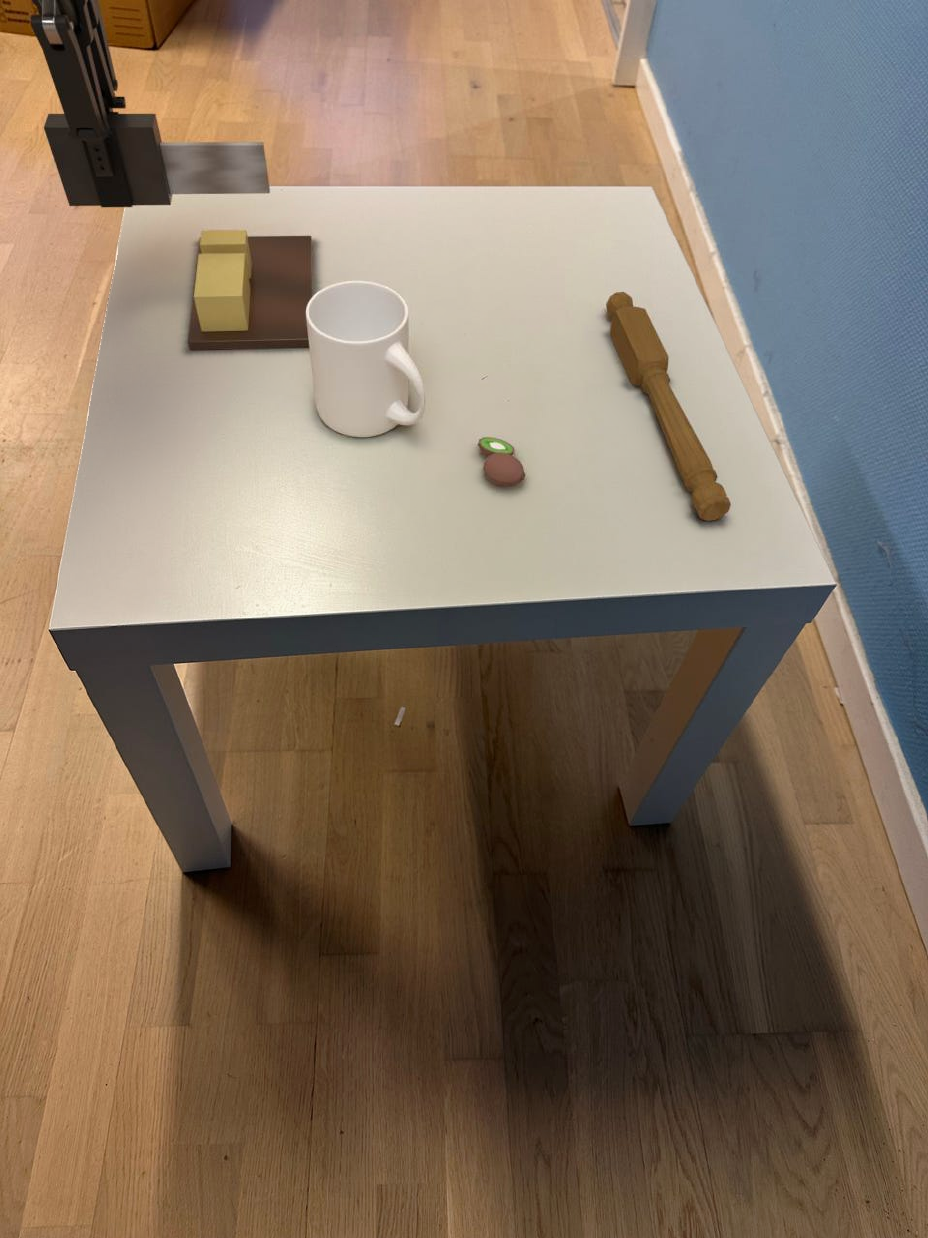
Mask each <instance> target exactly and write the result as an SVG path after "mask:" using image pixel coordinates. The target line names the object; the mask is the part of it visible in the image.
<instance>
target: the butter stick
mask: <svg viewBox="0 0 928 1238" xmlns="http://www.w3.org/2000/svg"><path fill="white" fill-rule="evenodd" d="M197 257H198V265H197V264H196V266H197V273H196V272H195V275H196V282H195V281H194V283H195V291H194V290H193V292H194V300H195V304H196V309H197V313H198V317H199V322H200V326H201V331H202V332H209V331H248V324H249V306H250V282H249V276H248V270H247V264H246V257H245V253H223V254H199V256H198V255H197Z"/></svg>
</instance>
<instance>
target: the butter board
mask: <svg viewBox="0 0 928 1238" xmlns="http://www.w3.org/2000/svg"><path fill="white" fill-rule="evenodd" d="M247 238H248V244H249V251H250V257H251V263H252V269H251V279H249V282H250V306H249V324H248V331H209V332H202V331H201V326H200V322H199V317H198V313H197V309H196V304H195V300H194V291H195V282H196V273H197V265H198V256H199V254H202V253H201V248H200V239H201V236H200V237H199V242H198V249H197V259H196V267H195V275H194V284H193V291H192V292H193V293H192V302H191V310H190V320H189V326H188V337H187V345H188V350H189V351H211V350H212V351H213V350H251V349H255V350H256V349H257V350H258V349H288V348H289V349H292V348H294V349H295V348H296V349H297V348H309V339H308V330H307V321H306V308H307V305H308V303H309V301H310V299H311V298H312V297H313V296H314V294H313V292H314V288H313V287H314V285H313V282H314V281H313V280H314V279H313V239H312V235H256V236H254V235H251V236H248V235H247Z"/></svg>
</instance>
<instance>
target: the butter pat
mask: <svg viewBox="0 0 928 1238" xmlns="http://www.w3.org/2000/svg"><path fill="white" fill-rule="evenodd" d="M247 236H248V232H247V230H246V229H221V230H220V229H218V230H217V229H216V230H215V229H214V230H210V229H209V230H208V229H207V230H206V229H205V230H201V231H200V237H201V239H200V238H199V240H200V248H201V253H202V254H223V253H245V257H246V264H247V270H248V276H249V279H251V269H252V263H251V257H250V251H249V244H248V238H247Z"/></svg>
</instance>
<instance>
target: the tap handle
mask: <svg viewBox="0 0 928 1238" xmlns="http://www.w3.org/2000/svg"><path fill="white" fill-rule="evenodd" d="M605 309H606V314H607V315H608V316H609V317H610V318H611V322H610V330H609V331H610V334H609V335H610V339H611V341H612V343H613V346H614V348H615V350H616V353H617V355H618V358H619V359H620V361H621V364H622V366H623V369H624V370H625V373H626V375H627V378H628V380H629V382H630V385H633V386H635V387H639V388H641V389H642V391H643V393H644V394H646V395H648V397H649V399H650V402H651V405H652V407H653V409H654V412H655V414H656V416H657V419H658V422H659V425H660V427H661V429H662V432H663V435H664V437H665V439H666V442H667V445H668V447H669V450H670V452H671V455H672V458H673V460H674V462H675V465H676V467H677V470H678V472H679V475H680V477H681V480H682V481H683V483H684V486H685V488H686V490H687V492H689V493H692V495H691V502H692V505H693V507H694V509H695V510H696V513H697V515H698V516H699V519H701V520H704V521H706V522H709V521H711V522H712V521H716V520H718V519H720V518H723V517H724V516H725V515H726V514H727V513H728V512H729V510H730V508H731V506H732V504H731V500H730V499H729V497H728V496H727V493H726V490H725V488H724V486H723V485H722V484H721V483H719V482H717V479H718V477H719V476H718V473H717V471H716V470H715V469H714V467H713V464H712V461H711V459H710V457H709V455H708V453H707V452H706V450H705V448H704V446H703V445H702V443H701V440H700V439H699V437H698V435H697V434H696V432H695V430H694V428H693V426H692V424H691V423H690V422H691V421H690V420H689V419H688V417H687V416H686V415H687V414H686V413H685V411H684V409H683V407H682V406H681V404H680V402H679V400H678V399H677V397H676V395H675V393H674V391H673V389H672V388H671V386H670V381H671V379H670V376H669V374H668V369H669V354H668V352H667V350H666V348H665V346H664V344H663V342H662V340H661V338H660V336H659V334H658V332H657V330H656V328H655V326H654V324H653V322H652V319H651V318H650V316H649V314H648V312H647V310H646V308H644V307H640V306H634V302H633V297H632V296H631V295H630V294H628V293H627V292H625V291H618V292H617V291H616V292H615V293H613V294H612V295H610V296H609V297H608V299H607V301H606V303H605Z"/></svg>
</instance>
